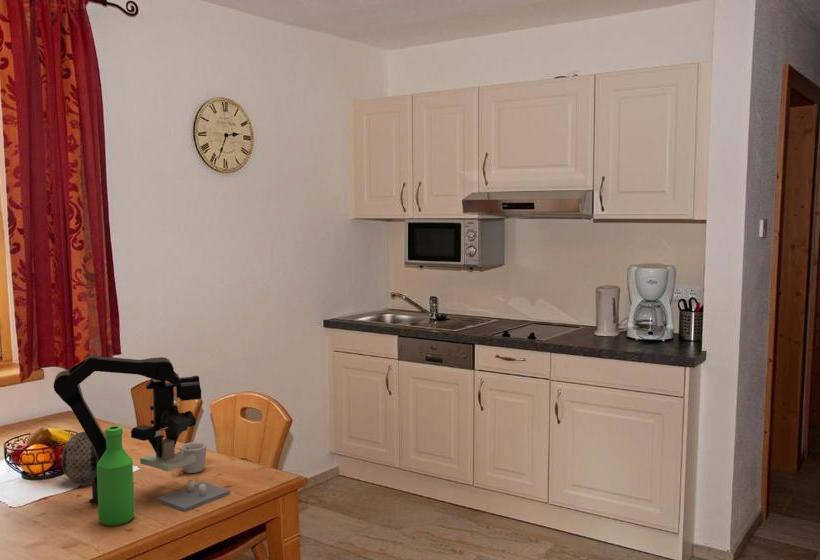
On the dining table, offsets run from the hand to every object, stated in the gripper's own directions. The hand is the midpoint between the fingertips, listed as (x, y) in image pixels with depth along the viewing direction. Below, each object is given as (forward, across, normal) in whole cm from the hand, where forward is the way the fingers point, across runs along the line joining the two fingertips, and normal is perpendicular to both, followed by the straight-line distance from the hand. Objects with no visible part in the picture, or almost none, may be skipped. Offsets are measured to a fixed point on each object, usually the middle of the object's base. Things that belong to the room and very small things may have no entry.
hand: (165, 455), depth 218 cm
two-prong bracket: (+2, +1, 0) cm, 3 cm away
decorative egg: (+11, -8, +28) cm, 31 cm away
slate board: (+11, +2, -9) cm, 15 cm away
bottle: (+11, -20, -4) cm, 23 cm away
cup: (+11, +16, +8) cm, 21 cm away
